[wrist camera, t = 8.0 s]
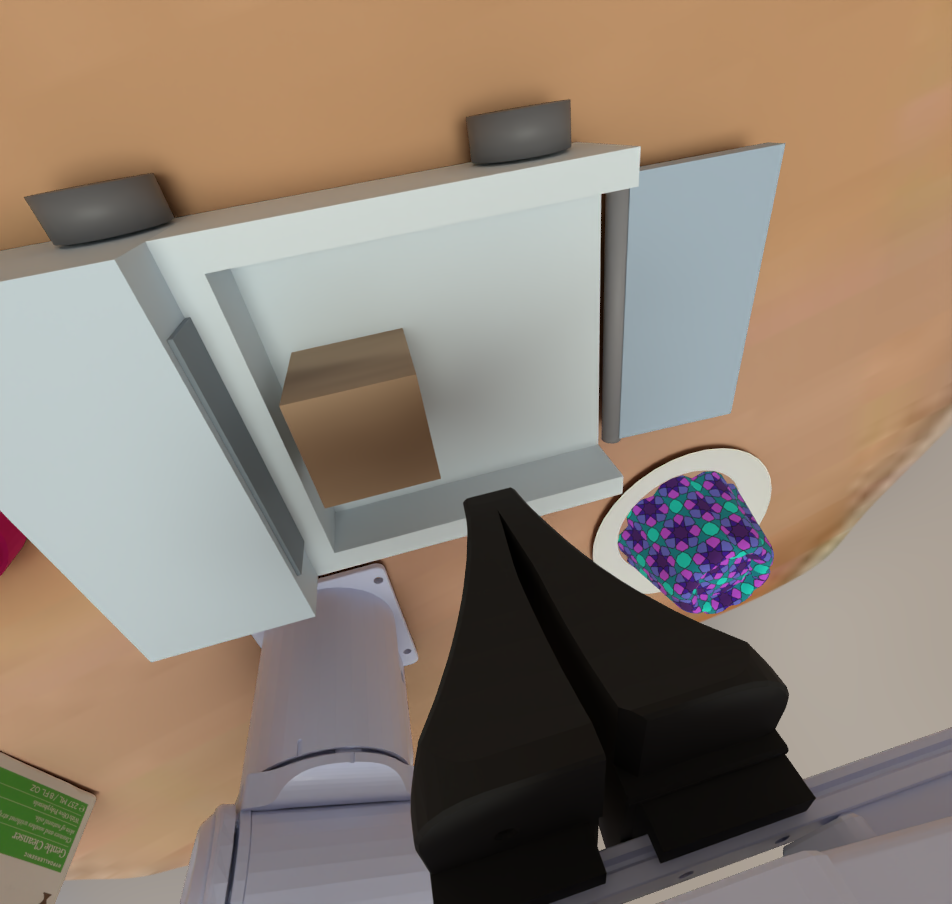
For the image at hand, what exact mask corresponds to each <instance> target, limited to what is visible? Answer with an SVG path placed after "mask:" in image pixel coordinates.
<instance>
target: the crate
mask: <svg viewBox="0 0 952 904" xmlns="http://www.w3.org/2000/svg"><path fill="white" fill-rule="evenodd" d="M279 407H280V409H281V412H282V414H283V416H284V418H285V421H286V423H287V425H288V427H289V429H290V432H291V434H292V436H293V438H294V441H295V443H296V445H297V447H298V450H299V452H300V454H301V456H302V459H303V461H304V463H305V465H306V468H307V470H308V472H309V474H310V476H311V479H312V481H313V483H314V485H315V488H316V490H317V492H318V494H319V497H320V499H321V501H322V503H323V506H324V508H329V507H333V506H337V505H341V504H344V503H348V502H352V501H356V500H360V499H364V498H368V497H372V496H376V495H379V494H383V493H387V492H391V491H395V490H399V489H403V488H407V487H411V486H415V485H418V484H422V483H426V482H430V481H434V480H438V479H441V476H440V472H439V467H438V463H437V459H436V455H435V451H434V447H433V442H432V438H431V434H430V430H429V426H428V421H427V417H426V413H425V409H424V405H423V400H422V396H421V392H420V388H419V384H418V380H417V375H416V372H415V368H414V365H413V362H412V358H411V355H410V351H409V348H408V345H407V341H406V338H405V334H404V331H403V328H400V329H395V330H391V331H386V332H382V333H377V334H373V335H368V336H364V337H359V338H355V339H350V340H346V341H341V342H337V343H332V344H328V345H323V346H319V347H314V348H310V349H305V350H301V351H296V352H292V353H291V356H290V361H289V365H288V370H287V374H286V378H285V383H284V387H283V391H282V396H281V400H280V404H279Z"/></svg>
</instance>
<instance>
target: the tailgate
mask: <svg viewBox="0 0 952 904" xmlns="http://www.w3.org/2000/svg"><path fill="white" fill-rule="evenodd" d="M784 148H785V143H763V144H758V145H752V146H747V147H742V148H736V149H731V150H726V151H721V152H715V153H710V154H705V155H699V156H694V157H689V158H683V159H678V160H673V161H668V162H662V163H657V164H652V165H646V166H641V167H640V168H639V187H634V188H629V189H624V190H619V191H614V192H609V193H606V202H605V262H604V322H603V382H602V440H603V441H604V442H606V443H617V442H619V441H620V440H621V438H624V437H629V436H633V435H638V434H642V433H646V432H651V431H655V430H660V429H664V428H668V427H673V426H677V425H682V424H686V423H690V422H695V421H699V420H704V419H708V418H712V417H717V416H721V415H726V414H730V413H731V409H732V404H733V399H734V394H735V389H736V384H737V379H738V374H739V370H740V365H741V360H742V355H743V350H744V345H745V340H746V335H747V330H748V325H749V320H750V315H751V310H752V305H753V301H754V296H755V291H756V286H757V281H758V276H759V271H760V266H761V261H762V256H763V251H764V246H765V241H766V237H767V232H768V227H769V222H770V217H771V212H772V207H773V202H774V197H775V192H776V187H777V182H778V177H779V172H780V168H781V163H782V158H783V153H784Z"/></svg>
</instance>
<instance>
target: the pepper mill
mask: <svg viewBox="0 0 952 904" xmlns="http://www.w3.org/2000/svg"><path fill="white" fill-rule="evenodd" d="M26 538H27V537H26V536H25V535H24V534H23V533H22V532H21V531H20V530H19V529H18V528H17V527H16V526H15V525H14V524H13V523H12V522H11V521H10V520H9V519H8V518H7V517H6V516H5V515H4V514H3V513H2V512H1V511H0V576H1V575H2V574H3V572H4V571H5V570H6V568H7V567H8V566H9V564H10V563H11V562H12V560H13V559H14V558H15V556H16V555H17V554H18V552H19V551H20V550H21V548H22V547H23V545H24V543H25V541H26Z"/></svg>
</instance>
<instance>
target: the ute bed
mask: <svg viewBox="0 0 952 904" xmlns="http://www.w3.org/2000/svg"><path fill="white" fill-rule="evenodd" d="M466 122H467V130H468V138H469V146H470V154H471V162H469V163H463V164H458V165H453V166H447V167H442V168H437V169H431V170H426V171H421V172H416V173H410V174H405V175H400V176H394V177H389V178H384V179H378V180H373V181H368V182H362V183H357V184H352V185H347V186H341V187H336V188H331V189H325V190H320V191H315V192H309V193H304V194H299V195H294V196H288V197H283V198H278V199H272V200H267V201H262V202H256V203H251V204H246V205H241V206H235V207H230V208H225V209H219V210H214V211H209V212H203V213H198V214H193V215H188V216H182V217H177V218H174V216H173V214H172V212H171V210H170V208H169V206H168V203H167V201H166V199H165V197H164V195H163V193H162V191H161V189H160V186H159V184H158V182H157V180H156V178H155V176H154V174H153V173H150V174H143V175H137V176H131V177H125V178H119V179H114V180H108V181H102V182H97V183H92V184H86V185H81V186H76V187H70V188H65V189H60V190H55V191H50V192H45V193H40V194H35V195H31V196H27V197H24V198H25V200H26V201H27V203H28V205H29V206H30V208H31V209H32V211H33V213H34V214H35V216H36V217H37V219H38V221H39V222H40V224H41V225H42V227H43V229H44V230H45V232H46V233H47V235H48V237H49V238H50V240H51V241H50V242H44V243H39V244H34V245H28V246H23V247H18V248H13V249H7V250H2V251H0V511H1V512H2V513H3V514H4V515H5V516H6V517H7V518H8V519H9V520H10V521H11V522H12V523H13V524H14V525H15V526H16V527H17V528H18V529H19V530H20V531H21V532H22V533H23V534H24V535H25V536H26V537H27V538H28V539H29V540H30V541H31V542H32V543H33V544H34V545H35V546H36V547H37V548H38V549H39V550H40V551H41V552H42V553H43V554H44V555H45V556H46V557H47V558H48V559H49V560H50V561H51V562H52V563H53V564H54V565H55V566H56V567H57V568H58V569H59V570H60V571H61V572H62V573H63V574H64V575H65V576H66V577H67V578H68V579H69V580H70V581H71V582H72V583H73V584H74V585H75V586H76V587H77V588H78V589H79V590H80V591H81V592H82V593H83V594H84V595H85V596H86V597H87V598H88V599H89V600H90V601H91V602H92V603H93V604H94V605H95V606H96V607H97V608H98V609H99V610H100V611H101V612H102V613H103V614H104V615H105V616H106V617H107V618H108V619H109V620H110V621H111V622H112V624H113V625H114V626H115V627H116V628H117V629H118V630H119V631H120V632H121V633H122V634H123V635H124V636H125V637H126V638H127V639H128V640H129V641H130V642H131V643H132V644H133V645H134V646H135V647H136V648H137V649H138V650H139V651H140V652H141V653H142V654H143V655H144V656H145V657H146V658H147V659H148V660H149V661H150V662H154V661H158V660H161V659H165V658H169V657H172V656H176V655H179V654H183V653H186V652H190V651H194V650H197V649H201V648H204V647H208V646H212V645H215V644H219V643H222V642H226V641H229V640H233V639H237V638H240V637H244V636H247V635H251V634H254V633H258V632H262V631H265V630H269V629H272V628H276V627H280V626H283V625H287V624H290V623H294V622H297V621H301V620H305V619H308V618H312V617H315V616H316V602H317V584H318V576H320V575H324V574H328V573H331V572H335V571H339V570H342V569H346V568H350V567H354V566H357V565H361V564H365V563H368V562H372V561H376V560H379V559H383V558H387V557H390V556H394V555H398V554H402V553H405V552H409V551H413V550H416V549H420V548H424V547H427V546H431V545H435V544H438V543H442V542H446V541H450V540H453V539H457V538H461V537H464V536H467V522H466V516H465V511H464V506H463V502H464V501H465V500H466V498H470V497H474V496H478V495H482V494H486V493H490V492H494V491H498V490H502V489H506V488H510V487H511V488H513V489H515V490H516V492H517V493H518V494H519V495H520V496H521V497H522V498H523V500H524V501H525V502H526V503H527V504H528V505H529V506H530V507H531V508H532V509H533V510H534V511H535V512H536V513H537V514H538V515H539V516H542V515H546V514H549V513H553V512H557V511H560V510H564V509H568V508H571V507H575V506H579V505H582V504H586V503H590V502H594V501H597V500H601V499H605V498H608V497H612V496H616V495H619V494H622V493H623V475H622V474H621V473H620V471H619V470H618V469H617V468H616V466H615V465H614V464H613V463H612V461H611V460H610V459H609V458H608V456H607V455H606V454H605V453H604V451H603V450H602V449H601V448H600V446H599V445H598V419H599V334H600V248H601V194H604V193H609V192H614V191H619V190H624V189H629V188H634V187H639V168H640V149H641V146H629V145H614V144H599V143H585V142H575V143H571V107H570V100H561V101H554V102H548V103H541V104H535V105H529V106H523V107H517V108H512V109H506V110H500V111H495V112H489V113H484V114H479V115H474V116H469V117H466ZM400 328H403V331H404V334H405V338H406V341H407V345H408V348H409V351H410V355H411V358H412V362H413V365H414V368H415V372H416V375H417V380H418V384H419V388H420V392H421V396H422V400H423V405H424V409H425V413H426V417H427V421H428V426H429V430H430V434H431V438H432V442H433V447H434V451H435V455H436V459H437V463H438V467H439V472H440V476H441V479H438V480H434V481H430V482H426V483H422V484H418V485H415V486H411V487H407V488H403V489H399V490H395V491H391V492H387V493H383V494H379V495H376V496H372V497H368V498H364V499H360V500H356V501H352V502H348V503H344V504H341V505H337V506H333V507H329V508H324V506H323V503H322V501H321V499H320V497H319V494H318V492H317V490H316V488H315V485H314V483H313V481H312V479H311V476H310V474H309V472H308V470H307V468H306V465H305V463H304V461H303V459H302V456H301V454H300V452H299V450H298V447H297V445H296V443H295V441H294V438H293V436H292V434H291V432H290V429H289V427H288V425H287V423H286V421H285V418H284V416H283V414H282V412H281V409H280V407H279V404H280V400H281V396H282V391H283V387H284V383H285V378H286V374H287V370H288V365H289V361H290V356H291V353H292V352H296V351H301V350H305V349H310V348H314V347H319V346H323V345H328V344H332V343H337V342H341V341H346V340H350V339H355V338H359V337H364V336H368V335H373V334H377V333H382V332H386V331H391V330H395V329H400Z"/></svg>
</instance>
